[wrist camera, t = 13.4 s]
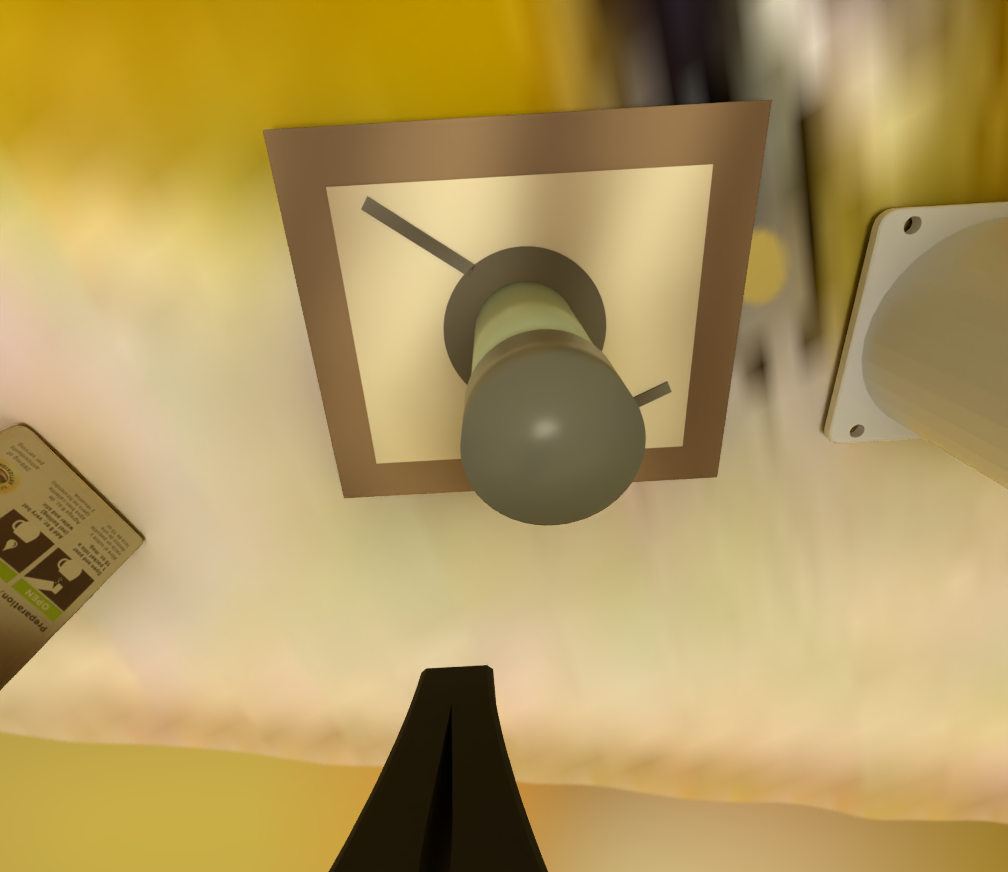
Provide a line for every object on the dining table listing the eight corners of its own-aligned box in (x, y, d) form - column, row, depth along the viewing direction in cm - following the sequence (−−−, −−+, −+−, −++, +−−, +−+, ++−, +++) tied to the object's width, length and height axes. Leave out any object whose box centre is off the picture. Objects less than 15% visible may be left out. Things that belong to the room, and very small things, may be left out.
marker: (577, 273, 16) (650, 353, 9) (578, 378, 18) (641, 519, 10) (466, 281, 16) (450, 368, 9) (477, 386, 18) (469, 531, 10)
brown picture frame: (758, 103, 15) (776, 98, 14) (708, 466, 20) (719, 481, 19) (273, 132, 15) (257, 128, 14) (349, 486, 20) (341, 502, 20)
